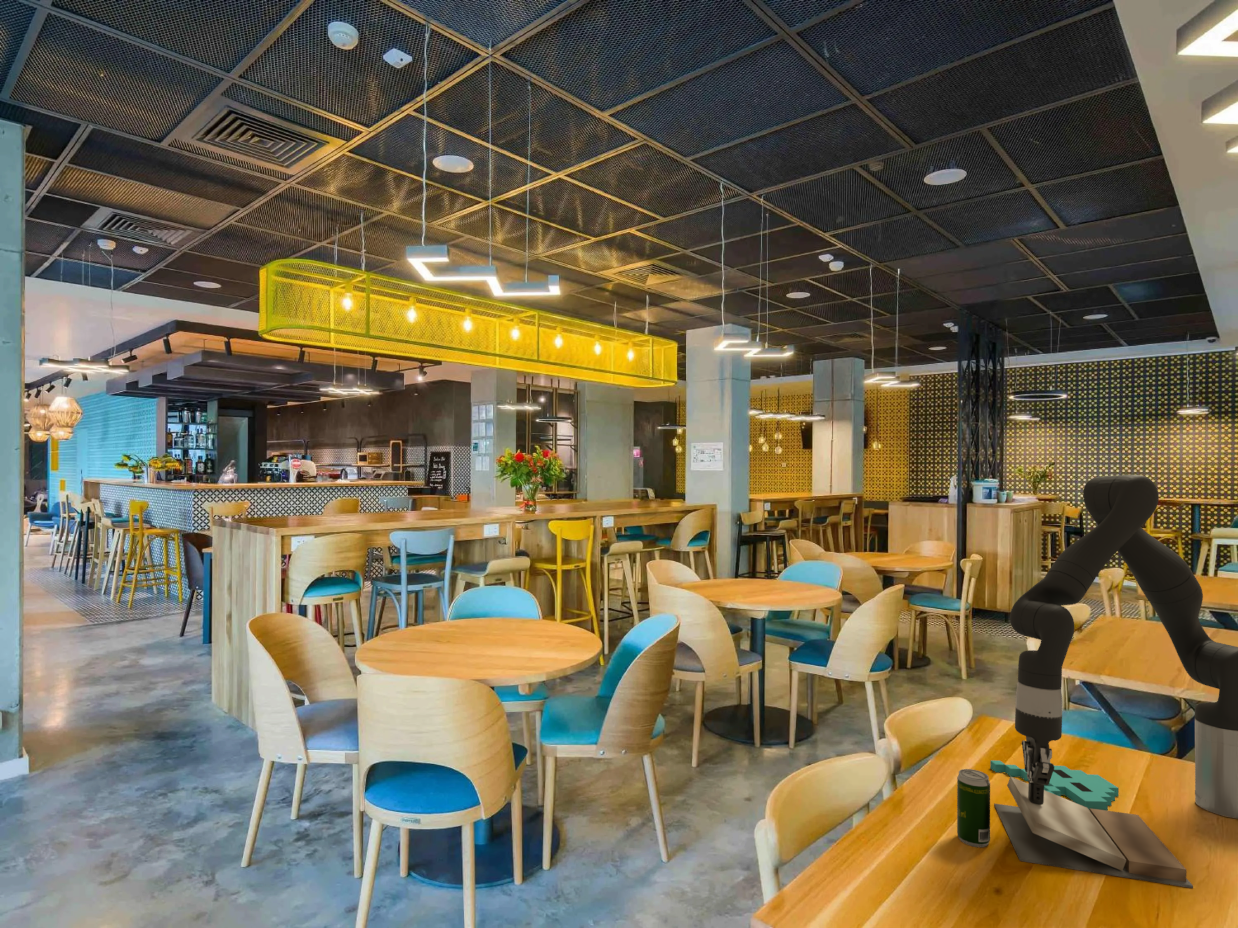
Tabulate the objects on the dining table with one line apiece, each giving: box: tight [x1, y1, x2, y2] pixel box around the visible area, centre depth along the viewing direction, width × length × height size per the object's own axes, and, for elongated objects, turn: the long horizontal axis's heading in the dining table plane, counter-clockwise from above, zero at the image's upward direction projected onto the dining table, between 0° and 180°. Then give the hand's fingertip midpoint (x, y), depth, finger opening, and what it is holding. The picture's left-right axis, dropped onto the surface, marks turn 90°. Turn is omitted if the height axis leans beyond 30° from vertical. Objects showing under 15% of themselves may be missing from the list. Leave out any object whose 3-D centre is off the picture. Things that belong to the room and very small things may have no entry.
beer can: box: [956, 768, 991, 848], centre depth 129 cm, size 5×5×12 cm
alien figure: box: [989, 759, 1120, 811], centre depth 151 cm, size 20×2×20 cm
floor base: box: [993, 803, 1194, 889], centre depth 129 cm, size 25×22×2 cm
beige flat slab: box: [1006, 776, 1126, 871], centre depth 130 cm, size 14×20×2 cm
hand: (1035, 802), depth 131 cm, fingers closed
